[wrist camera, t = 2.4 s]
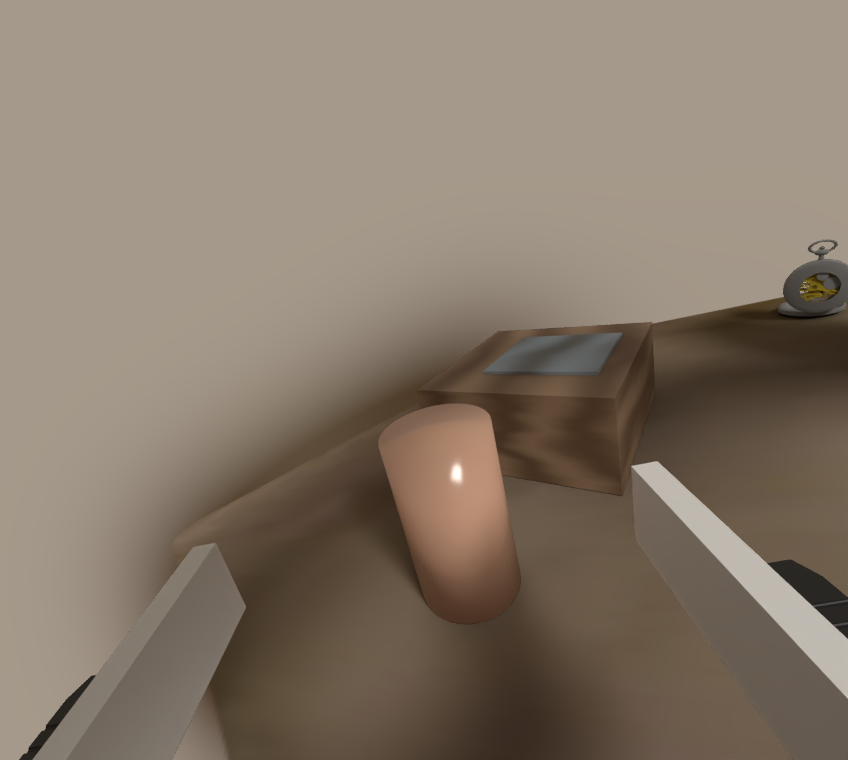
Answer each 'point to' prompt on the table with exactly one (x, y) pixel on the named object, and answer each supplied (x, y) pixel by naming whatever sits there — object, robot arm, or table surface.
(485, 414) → the terracotta cylinder
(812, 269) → the pocket watch
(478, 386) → the walnut box
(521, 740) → the table surface
